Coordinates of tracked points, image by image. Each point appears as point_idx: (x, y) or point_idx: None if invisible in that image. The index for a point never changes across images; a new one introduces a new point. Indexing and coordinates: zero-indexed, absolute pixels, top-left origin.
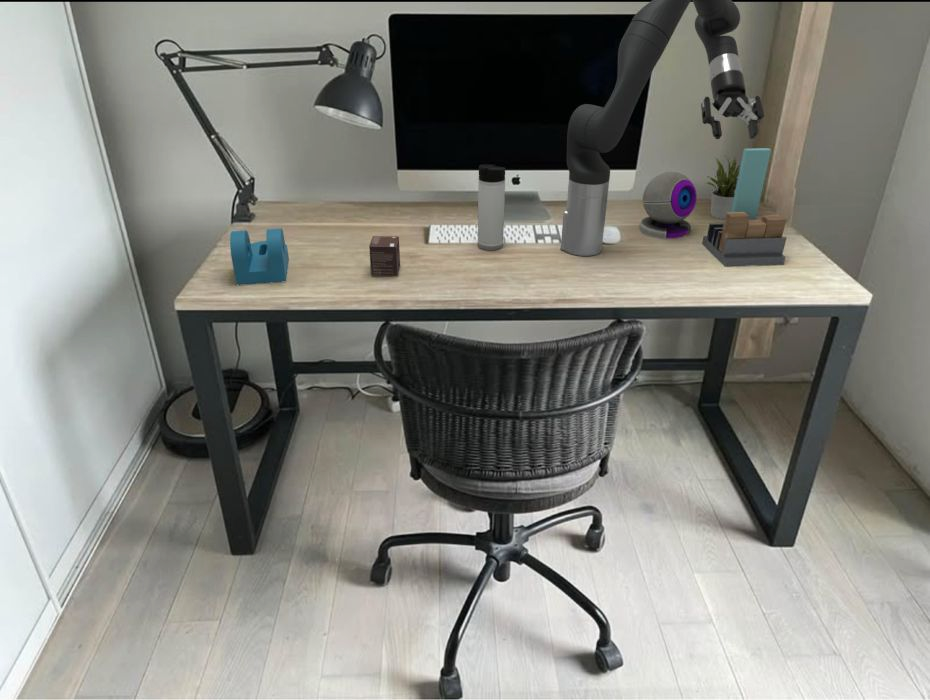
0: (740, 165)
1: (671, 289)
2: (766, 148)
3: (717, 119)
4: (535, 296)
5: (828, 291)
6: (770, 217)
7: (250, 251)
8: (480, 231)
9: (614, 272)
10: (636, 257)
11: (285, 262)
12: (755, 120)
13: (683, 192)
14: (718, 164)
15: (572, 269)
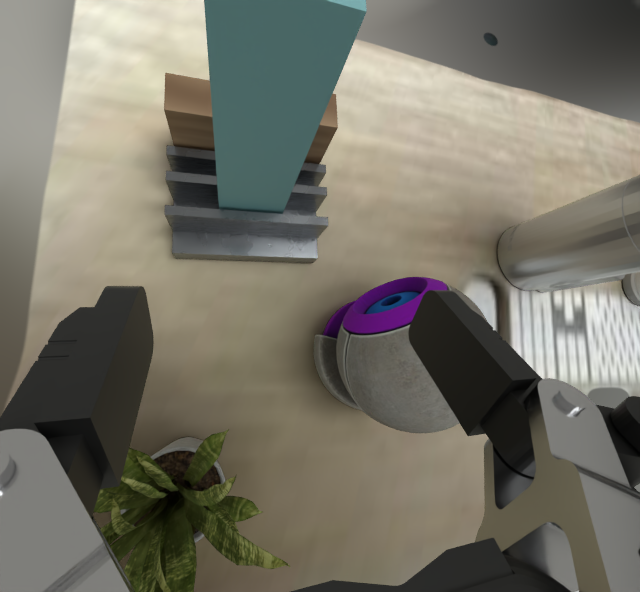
0: (115, 532)
1: (420, 87)
2: None
3: (551, 389)
4: (577, 114)
5: (152, 3)
6: (207, 99)
7: None
8: None
9: (486, 161)
10: (447, 212)
11: None
12: (2, 445)
13: (406, 302)
14: None
15: (538, 183)
